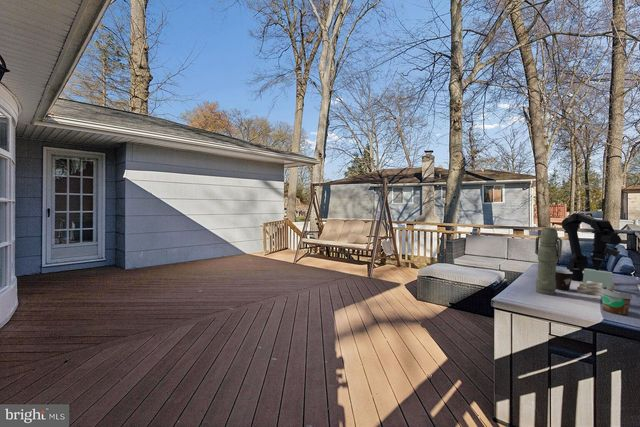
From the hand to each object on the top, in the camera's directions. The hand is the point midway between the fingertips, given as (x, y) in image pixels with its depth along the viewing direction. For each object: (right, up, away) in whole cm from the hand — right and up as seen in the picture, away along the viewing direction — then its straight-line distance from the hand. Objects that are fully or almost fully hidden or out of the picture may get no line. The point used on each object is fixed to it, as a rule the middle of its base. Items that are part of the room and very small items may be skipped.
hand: (597, 269), depth 184 cm
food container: (-26, -13, -37) cm, 47 cm away
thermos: (-37, -11, -9) cm, 40 cm away
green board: (0, -11, +1) cm, 11 cm away
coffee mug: (-24, -11, -2) cm, 27 cm away
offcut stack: (-9, -12, -8) cm, 17 cm away
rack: (-3, -11, -3) cm, 12 cm away
